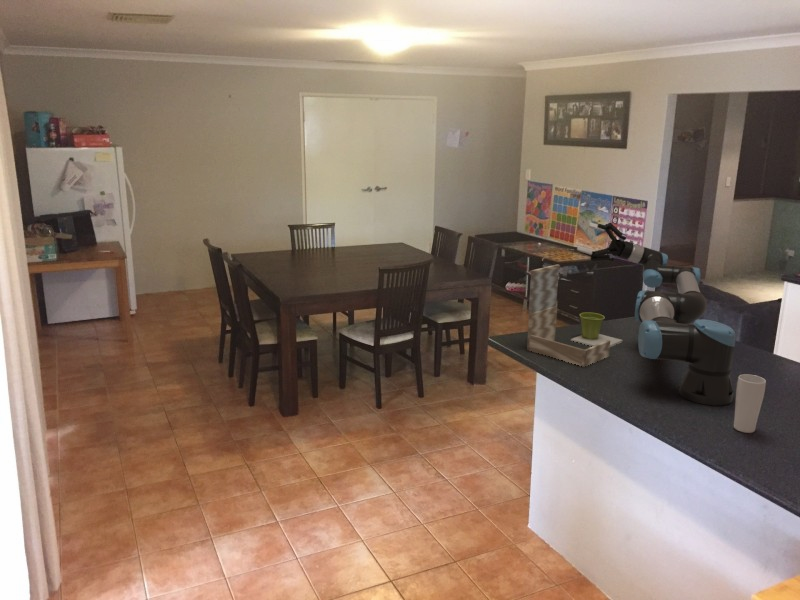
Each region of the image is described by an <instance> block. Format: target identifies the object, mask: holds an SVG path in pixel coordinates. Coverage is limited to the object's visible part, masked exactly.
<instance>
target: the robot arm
mask: <svg viewBox="0 0 800 600" xmlns="http://www.w3.org/2000/svg"><path fill="white" fill-rule="evenodd" d="M588 224H589V225H588V227H589V228H591V229H594V230H596V231H600V232H602V233H604V232H606V234H607V236H608V238H609V239H610V240H611V242H610V243H609V245H608V247H606V248H603V249H599V250H595V251H594V250H593V249H590V248H588V247H584V246H581V245H577V248H576V251H578V252H580V253H581V252H582V253H583V255H586V256H590V261H592V262H593V261H612V262H614V261H615V257H619V258H620V259H624V260H628V261H629V262H632V263H636V264H639V265H641V266H642V279H643V280H642V282H643V284H644V286H646V287H648V288H651V289H652V288H653V289H655V288H658V287H659V286H661V285H662V284H668V285H669V284H671V285H676V287H677V291H678V292H670V291H669V292H668V291H667V292H666V291H657V290H648V289H647V290H640V291H638V293H637V296H636V301H635V307H634V308H635V309H634V319H635V322H640V323H641V324H640V325H639V328H638V337H637V338H638V339H637V345H638V353H639V354H640V356H641V357H643V358H646V359H647V358H648V359H650V360H664V361H672V362H683V363H688V367H687V368H688V369H687V371H686V372H685V374H684V376H683V378H682V380H681V382H680V384H679V389H678V393H679V395H680V396H681V397H682V398H684V399H686V400H687V401H691V402H694V403H698V404H700V405H701V404H702V405H708V406H727V405H730V404H731V403H732V402H734V401H733V399H734V389H733V385H732V380H731V370H732V363H733V358H734V357H733V356H734V350H735V346H736V332H735V330H734V329H733V328H732V327H731V326H729V325H727V324H725V323H722V322H719V321H715V320H710V319H704V318H703V319H700V318H701V317H703V315H704V314H705V313H706V311H707V306H708V305H707V299H706V297H705V295H704V294H702V293H701V291H700V288H699V284H700V281H701V269H700V268H699V267H693V266H681V265H679V266H678V265H677V266H676V265H668V261H669V257H668V254H667V253H664V252H661V251H658V250H655V249H653V248H650V247H649V248H648V247H646V246H642V245H639V244H636V243H633V242H630V241H628V240H627V234H626V233H623V232H622V231H621V230H619V229H618V228H617V227H616V226H615V225H614V224H613V223H612V222H608V224H601V223H594V222H592V221H590V222H589V223H588ZM616 236H617V237H618V238H619V239H617V237H616Z"/></svg>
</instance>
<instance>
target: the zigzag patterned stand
mask: <svg viewBox="0 0 800 600" xmlns="http://www.w3.org/2000/svg"><path fill="white" fill-rule="evenodd" d="M560 267H561V265H560V264H553V265H549V266H545V267H541V268H536V269H535V268H534V269H532V270H530V284H529V300H528V302H529V303H528V325H527V340H526V341H527V342H526V343H527V344H526V351H529V352H531V351H532V353H535V354H538V353H539V354H538V355H541V354H543V355H542V356H545V355H546V356H545V357H548V356H550V357H549V358H551V357H553V358H552V359H554V358H556V359H555V360H558V359H559V361H561V360H563V361H562V362H564V361H565V362H564V363H568V362H569V363H568V364H571V363H572V364H571V365H574V364H576V365H575V366H577V365H579V366H578V367H581V366H582V367H581V368H586V367H589V366H590V364H591V365H593V364H596V363H597V361H598V362H599V361H602V360H604V358H605V359H607V358H609V357H610V350H611V347H610V341H609V340H607V341H605V342H602V343H600V344H597V345H595V346H592V347H591V346H589V347H588V348H586V349H583V348H581V347H577V346H573V345H570V344H566V343H562V342H559V341H556V330H557V329H556V328H557V315H558V306H557V301H558V300H557V299H558V288H559V275H560V274H559V273H560V272H559V271H560ZM592 363H593V364H592ZM588 365H589V366H588ZM585 366H586V367H585Z"/></svg>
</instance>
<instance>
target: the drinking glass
mask: <svg viewBox="0 0 800 600" xmlns="http://www.w3.org/2000/svg"><path fill="white" fill-rule="evenodd" d="M766 384H767V381H766V379H765V378H763V377H761V376H759V375H754V374H749V373H747V374H746V373H744V374H740V375H739V376H738V377H737V382H736V386H735V387H736V388H735V401H734V402H735V404H734V421H733V428H734V429H735V430H736V431H739V432H741V433H744V434H745V433H746V434H752V433H754V432H755V431H756V427H757V424H758V423H757V422H758V419H759V416H760V412H761V408H762V404H763V401H764V398H765V392H766V386H767V385H766Z"/></svg>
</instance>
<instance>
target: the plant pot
mask: <svg viewBox="0 0 800 600" xmlns="http://www.w3.org/2000/svg"><path fill="white" fill-rule="evenodd" d="M579 317H580V322H581V323H580V325H581V335H582V337H585V338H587V339H595V338H598V336H599V334H600V332H601V327H602V323H603V321H604V319H606V318H605V316H604V315H602V314H601V313H596V312H589V311H588V312H586V311H585V312H581V313H579Z"/></svg>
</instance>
